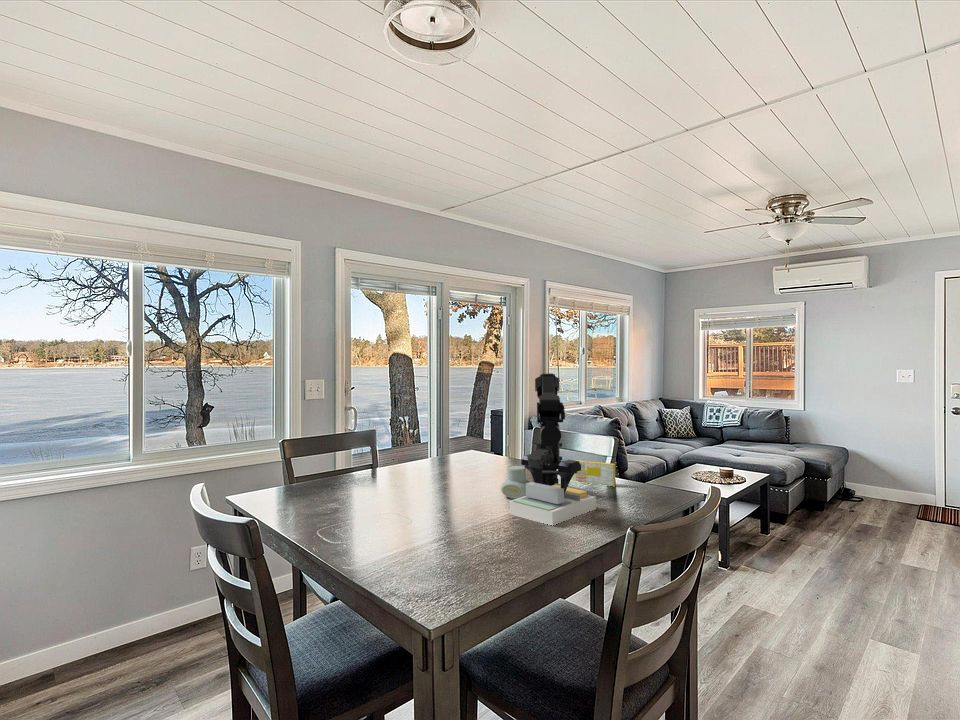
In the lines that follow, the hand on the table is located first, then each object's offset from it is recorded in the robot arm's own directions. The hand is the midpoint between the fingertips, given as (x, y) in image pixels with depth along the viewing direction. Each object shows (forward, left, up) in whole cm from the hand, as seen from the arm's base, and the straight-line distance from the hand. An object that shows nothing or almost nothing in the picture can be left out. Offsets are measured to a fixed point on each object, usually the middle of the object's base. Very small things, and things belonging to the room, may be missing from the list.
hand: (550, 491), depth 154 cm
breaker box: (0, +2, -6) cm, 7 cm away
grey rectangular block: (0, -3, -2) cm, 3 cm away
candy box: (-10, +40, -7) cm, 42 cm away
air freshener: (-19, +7, -7) cm, 21 cm away
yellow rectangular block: (0, +9, -2) cm, 9 cm away
